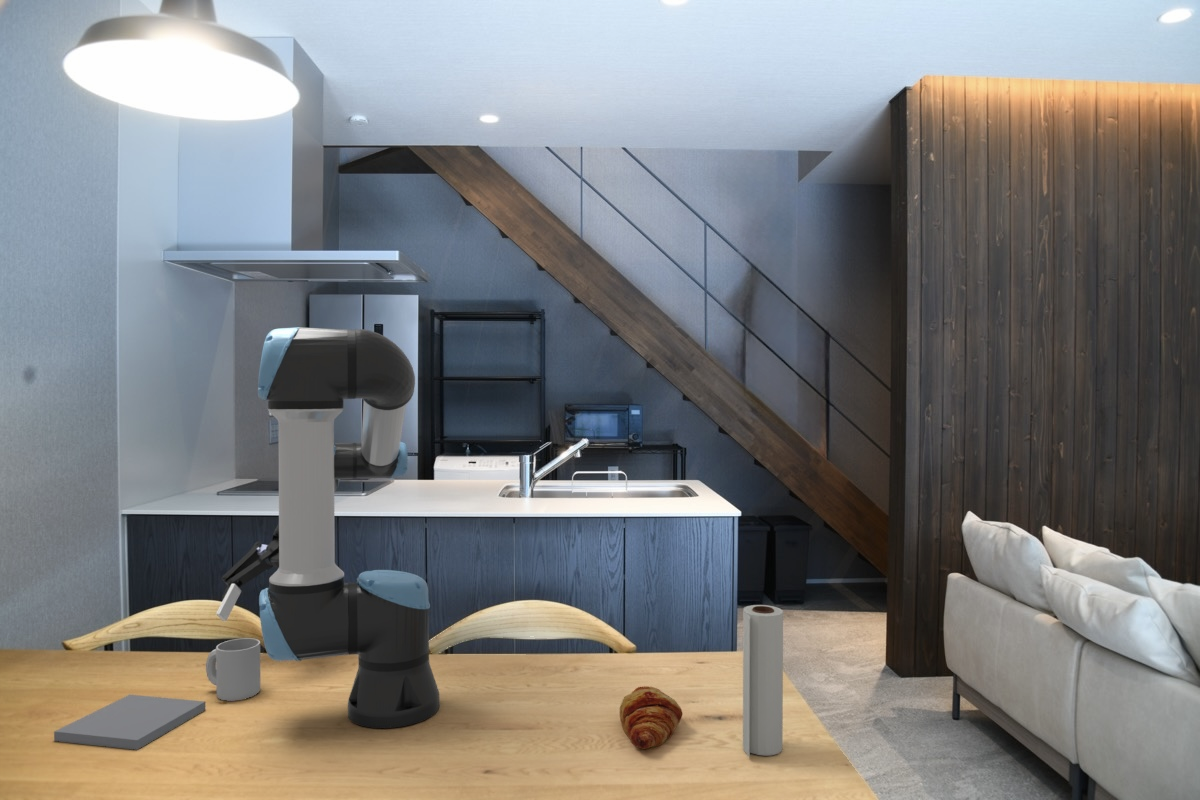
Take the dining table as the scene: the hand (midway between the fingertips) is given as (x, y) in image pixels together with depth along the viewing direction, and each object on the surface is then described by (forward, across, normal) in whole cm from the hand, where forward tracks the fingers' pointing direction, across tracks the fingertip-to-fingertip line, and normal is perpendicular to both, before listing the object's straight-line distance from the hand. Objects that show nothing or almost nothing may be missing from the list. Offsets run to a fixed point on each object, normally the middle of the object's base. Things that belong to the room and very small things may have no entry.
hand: (252, 619), depth 149 cm
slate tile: (+23, +6, +8) cm, 25 cm away
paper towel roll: (+15, -94, -1) cm, 95 cm away
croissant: (+12, -76, -4) cm, 77 cm away
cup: (+13, -1, -3) cm, 13 cm away
